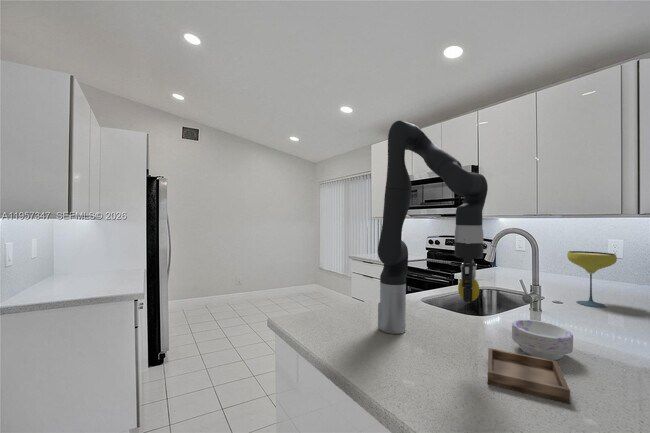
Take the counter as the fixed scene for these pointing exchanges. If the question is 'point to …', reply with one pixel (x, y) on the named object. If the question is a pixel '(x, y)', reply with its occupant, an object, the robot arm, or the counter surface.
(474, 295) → the lemon
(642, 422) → the counter surface
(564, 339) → the paper bowls
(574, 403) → the counter surface
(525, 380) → the walnut tray
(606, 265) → the cocktail glass
